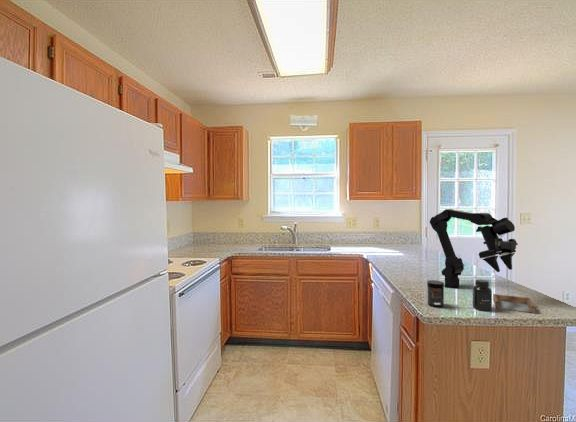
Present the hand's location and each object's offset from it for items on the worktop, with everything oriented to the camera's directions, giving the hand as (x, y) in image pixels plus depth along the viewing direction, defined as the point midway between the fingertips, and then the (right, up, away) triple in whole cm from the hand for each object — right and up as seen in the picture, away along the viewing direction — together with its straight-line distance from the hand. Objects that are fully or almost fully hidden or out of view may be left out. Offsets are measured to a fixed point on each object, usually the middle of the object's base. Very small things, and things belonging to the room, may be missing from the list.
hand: (504, 270), depth 134 cm
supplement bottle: (-16, -15, -9) cm, 24 cm away
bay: (-2, -14, -7) cm, 16 cm away
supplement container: (-34, -15, -3) cm, 37 cm away
